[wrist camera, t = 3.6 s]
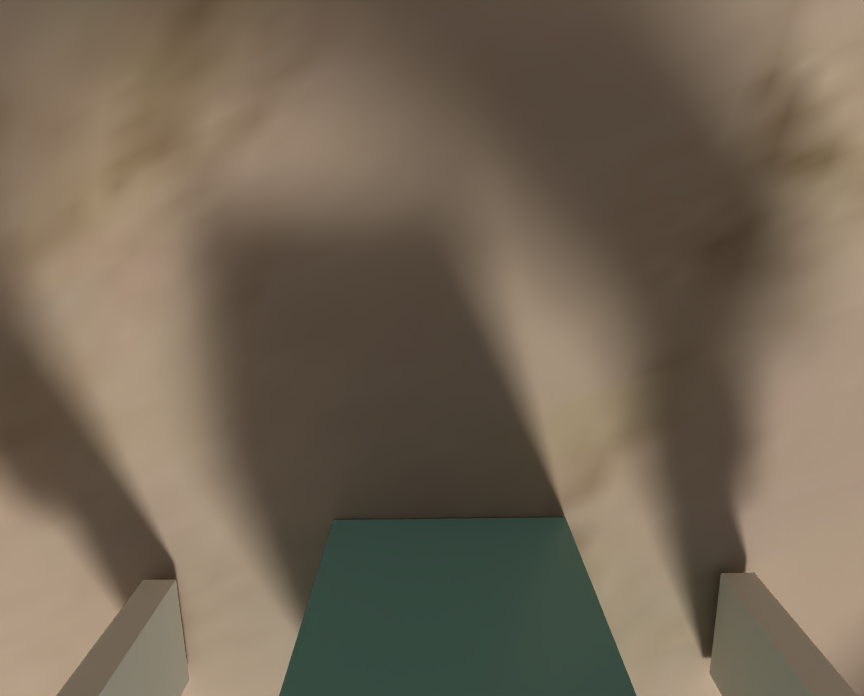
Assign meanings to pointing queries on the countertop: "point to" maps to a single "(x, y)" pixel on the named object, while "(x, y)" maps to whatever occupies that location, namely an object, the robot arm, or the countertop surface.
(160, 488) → the countertop surface
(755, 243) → the countertop surface
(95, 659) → the robot arm
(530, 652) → the teal rectangular block
